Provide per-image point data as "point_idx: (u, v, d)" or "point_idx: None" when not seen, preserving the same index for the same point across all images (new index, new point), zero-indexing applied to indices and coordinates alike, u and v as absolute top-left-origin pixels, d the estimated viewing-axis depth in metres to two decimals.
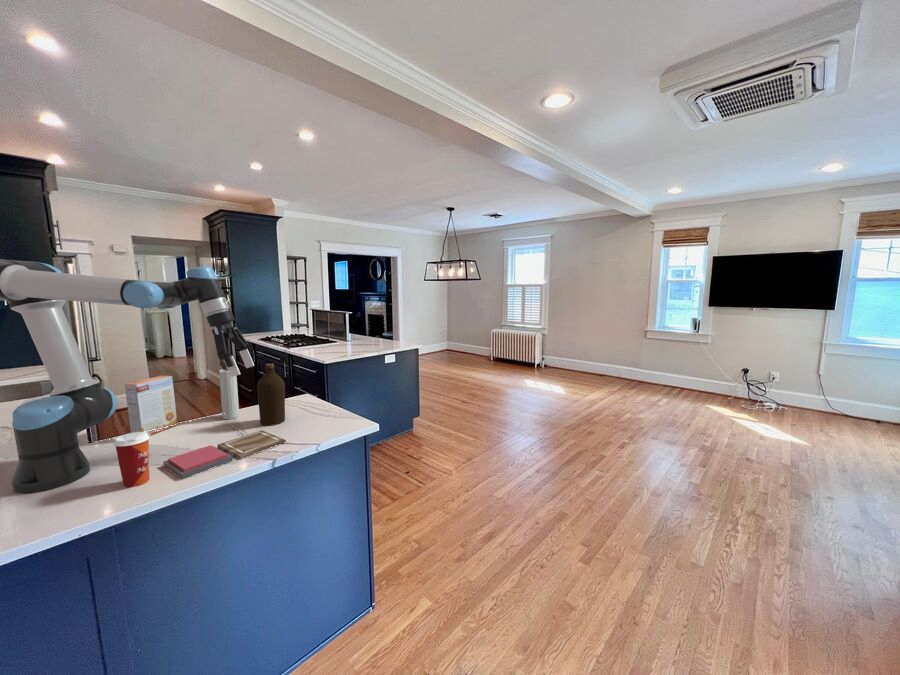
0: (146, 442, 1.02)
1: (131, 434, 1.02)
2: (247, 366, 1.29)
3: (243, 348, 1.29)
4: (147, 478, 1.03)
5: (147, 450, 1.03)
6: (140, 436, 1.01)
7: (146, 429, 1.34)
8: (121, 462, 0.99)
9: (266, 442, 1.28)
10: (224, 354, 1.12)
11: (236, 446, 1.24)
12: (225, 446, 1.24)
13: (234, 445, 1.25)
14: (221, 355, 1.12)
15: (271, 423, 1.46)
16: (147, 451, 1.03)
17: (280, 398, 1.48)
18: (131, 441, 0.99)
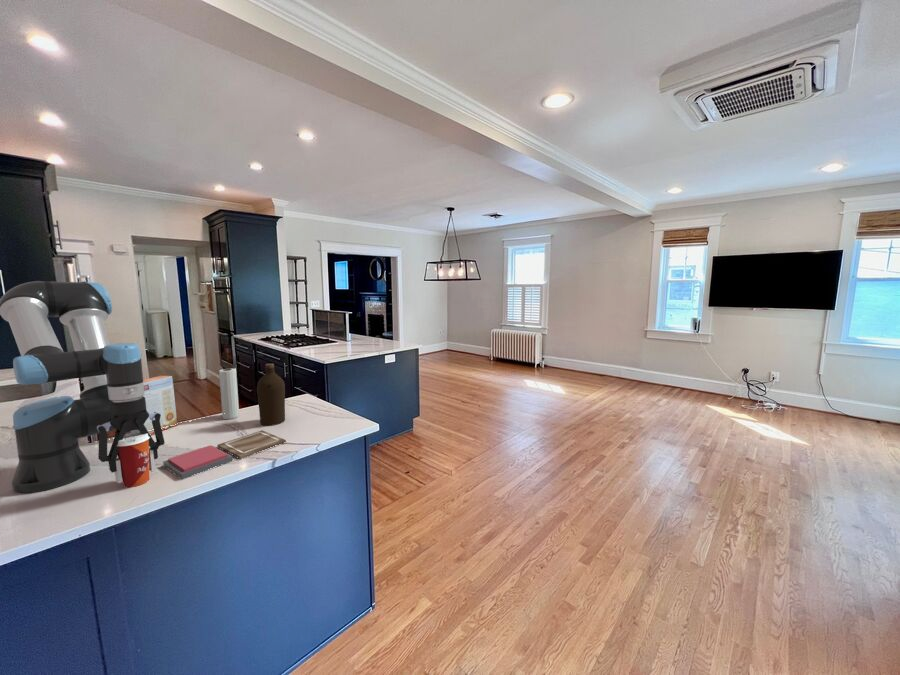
0: (146, 442, 1.02)
1: (131, 434, 1.02)
2: (149, 468, 1.06)
3: (151, 446, 1.05)
4: (147, 478, 1.03)
5: (147, 450, 1.03)
6: (140, 436, 1.01)
7: None
8: (122, 462, 0.99)
9: (266, 442, 1.28)
10: (101, 460, 0.95)
11: (236, 446, 1.24)
12: (225, 446, 1.24)
13: (234, 445, 1.25)
14: (99, 459, 0.96)
15: (271, 423, 1.46)
16: (147, 451, 1.03)
17: (280, 398, 1.48)
18: (131, 441, 0.99)
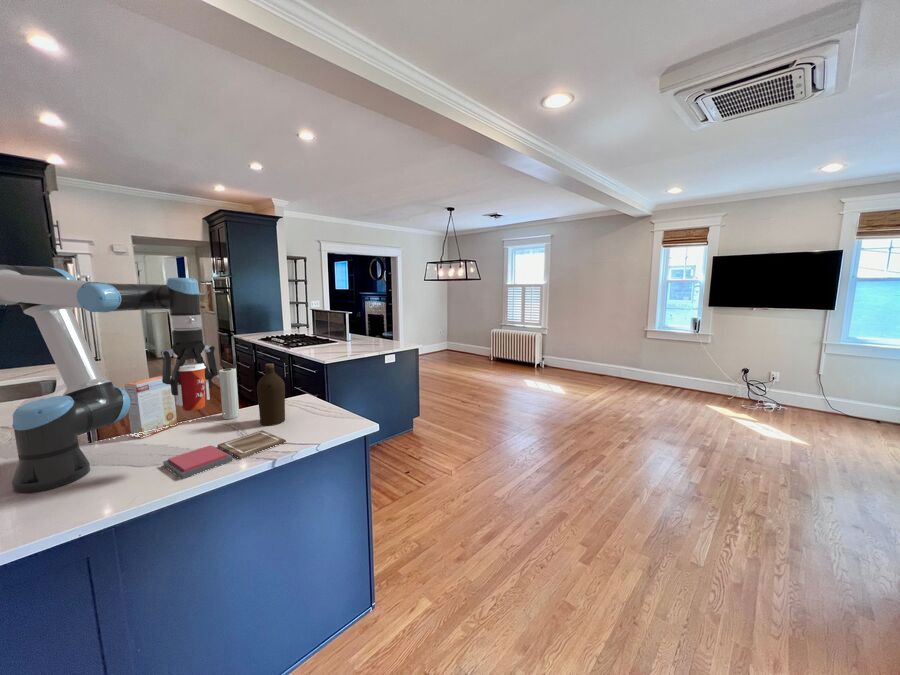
0: (203, 370, 1.11)
1: (190, 363, 1.11)
2: None
3: (206, 376, 1.14)
4: (203, 404, 1.12)
5: (204, 378, 1.12)
6: (198, 364, 1.10)
7: (146, 429, 1.34)
8: (182, 386, 1.08)
9: (266, 442, 1.28)
10: (165, 383, 1.04)
11: (236, 446, 1.24)
12: (225, 446, 1.24)
13: (234, 445, 1.25)
14: (163, 382, 1.05)
15: (271, 423, 1.46)
16: (204, 379, 1.12)
17: (280, 398, 1.48)
18: (191, 367, 1.07)
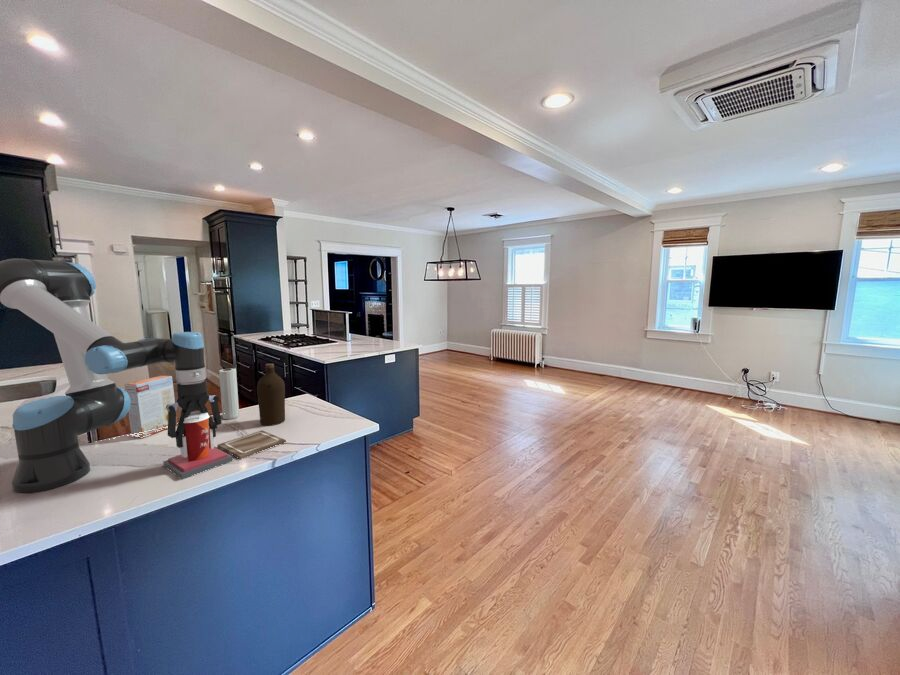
0: (207, 420, 1.13)
1: (194, 413, 1.13)
2: None
3: (210, 426, 1.16)
4: (207, 453, 1.14)
5: (208, 427, 1.14)
6: (202, 414, 1.12)
7: (146, 429, 1.34)
8: (187, 437, 1.10)
9: (266, 442, 1.28)
10: (170, 436, 1.06)
11: (236, 446, 1.24)
12: (225, 446, 1.24)
13: (234, 445, 1.25)
14: (169, 435, 1.07)
15: (271, 423, 1.46)
16: (208, 428, 1.14)
17: (280, 398, 1.48)
18: (196, 418, 1.10)
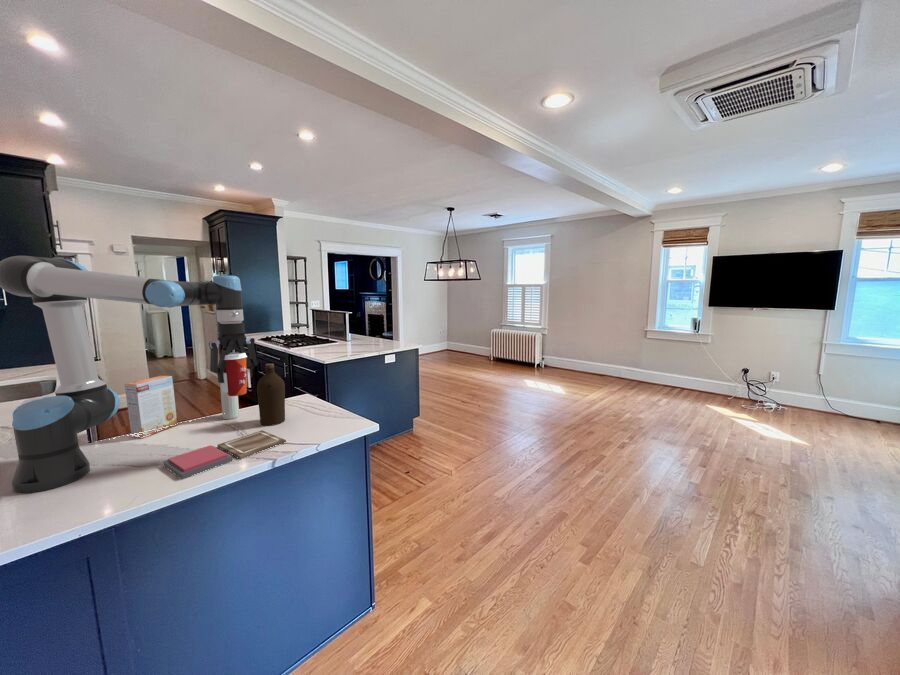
0: (245, 359, 1.21)
1: (233, 353, 1.21)
2: None
3: (247, 366, 1.24)
4: (245, 390, 1.22)
5: (245, 366, 1.22)
6: (241, 353, 1.20)
7: (146, 429, 1.34)
8: (227, 374, 1.18)
9: (266, 442, 1.28)
10: (213, 371, 1.15)
11: (236, 446, 1.24)
12: (225, 446, 1.24)
13: (234, 445, 1.25)
14: (211, 370, 1.15)
15: (271, 423, 1.46)
16: (245, 367, 1.22)
17: (280, 398, 1.48)
18: (235, 356, 1.17)
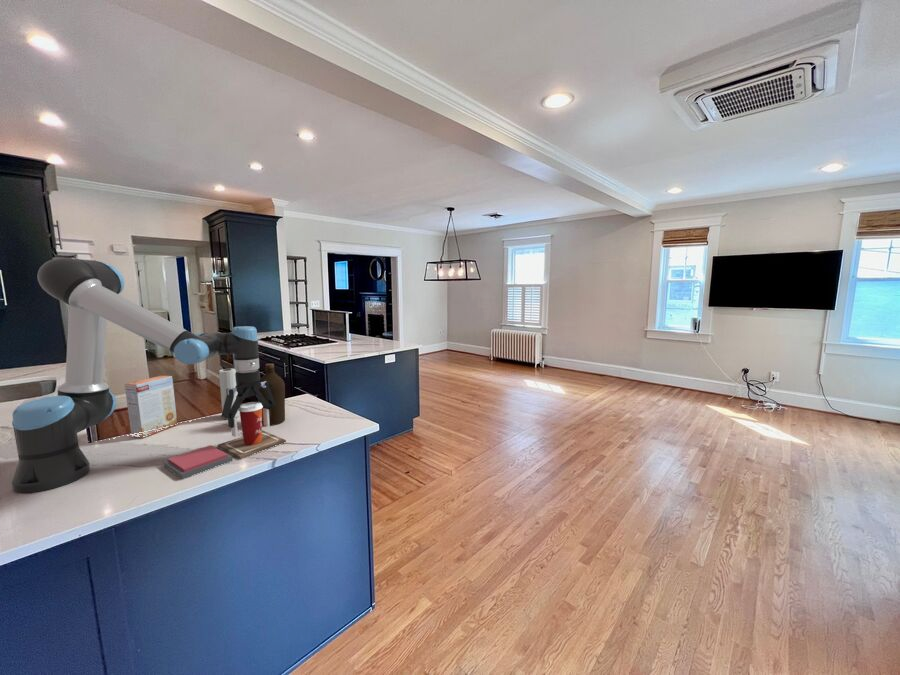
0: (261, 410, 1.27)
1: (249, 403, 1.27)
2: (264, 424, 1.32)
3: (266, 407, 1.31)
4: (261, 439, 1.29)
5: (261, 416, 1.28)
6: (257, 404, 1.26)
7: (146, 429, 1.34)
8: (245, 424, 1.24)
9: (266, 442, 1.28)
10: (224, 417, 1.19)
11: (236, 446, 1.24)
12: (225, 446, 1.24)
13: (234, 445, 1.25)
14: (222, 416, 1.19)
15: (271, 423, 1.46)
16: (261, 417, 1.28)
17: (280, 398, 1.48)
18: (252, 408, 1.24)
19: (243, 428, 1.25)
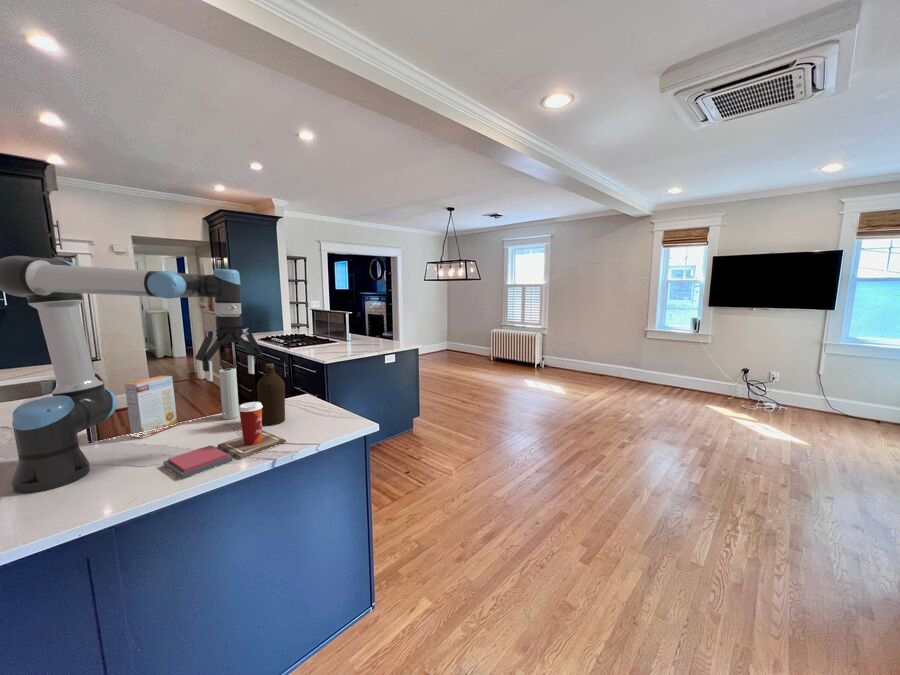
0: (261, 409, 1.27)
1: (249, 403, 1.27)
2: (249, 371, 1.29)
3: (252, 354, 1.28)
4: (261, 439, 1.29)
5: (261, 416, 1.28)
6: (257, 404, 1.26)
7: (146, 429, 1.34)
8: (245, 425, 1.24)
9: (266, 442, 1.28)
10: (198, 358, 1.13)
11: (236, 446, 1.24)
12: (225, 446, 1.24)
13: (234, 445, 1.25)
14: (197, 358, 1.14)
15: (271, 423, 1.46)
16: (261, 417, 1.28)
17: (280, 398, 1.48)
18: (252, 408, 1.24)
19: (243, 428, 1.25)
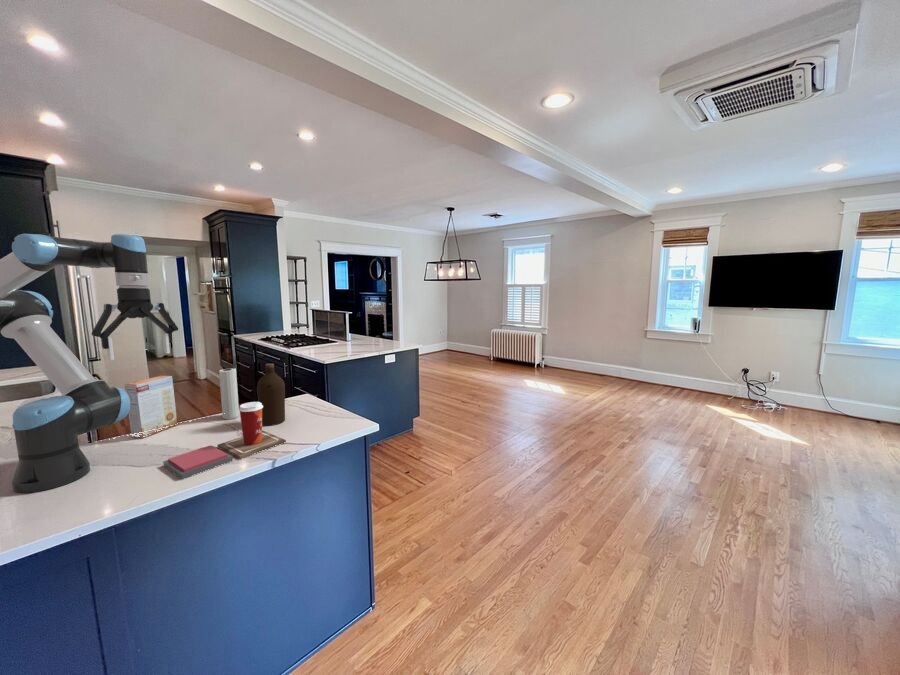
0: (261, 410, 1.27)
1: (249, 403, 1.27)
2: (164, 351, 1.16)
3: None
4: (261, 439, 1.29)
5: (261, 416, 1.28)
6: (257, 404, 1.26)
7: (146, 429, 1.34)
8: (245, 424, 1.24)
9: (266, 442, 1.28)
10: (93, 334, 1.01)
11: (236, 446, 1.24)
12: (225, 446, 1.24)
13: (234, 445, 1.25)
14: (92, 334, 1.02)
15: (271, 423, 1.46)
16: (261, 417, 1.28)
17: (280, 398, 1.48)
18: (252, 408, 1.24)
19: (243, 428, 1.25)
